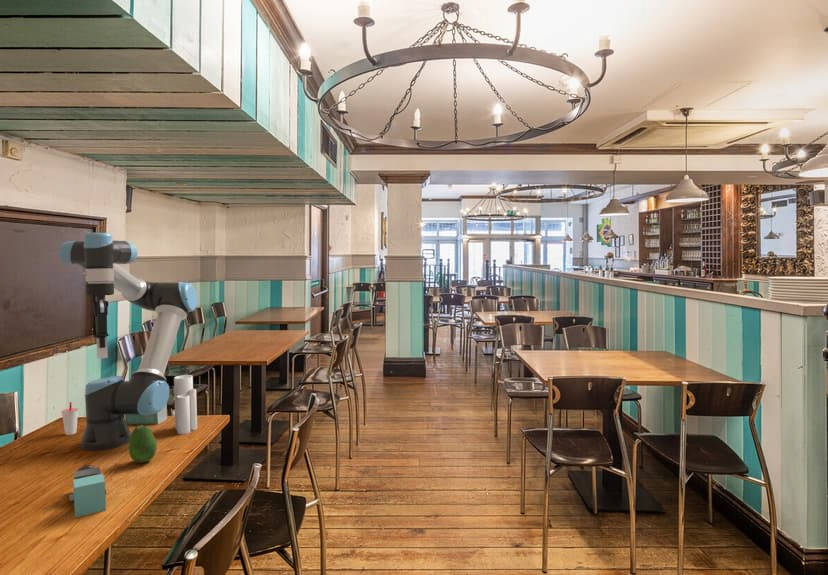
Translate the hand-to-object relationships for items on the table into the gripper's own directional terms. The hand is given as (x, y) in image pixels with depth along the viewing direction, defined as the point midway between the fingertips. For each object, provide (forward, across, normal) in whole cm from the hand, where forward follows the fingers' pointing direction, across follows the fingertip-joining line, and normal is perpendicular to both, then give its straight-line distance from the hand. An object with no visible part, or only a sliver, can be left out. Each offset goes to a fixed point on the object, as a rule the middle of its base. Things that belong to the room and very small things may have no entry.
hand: (102, 357), depth 159 cm
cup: (+35, -44, -8) cm, 57 cm away
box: (+35, -43, +18) cm, 58 cm away
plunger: (+33, +24, -6) cm, 42 cm away
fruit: (+35, +4, +10) cm, 36 cm away
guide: (+34, +22, -6) cm, 41 cm away
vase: (+35, -23, +28) cm, 50 cm away
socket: (+34, +31, -6) cm, 47 cm away
